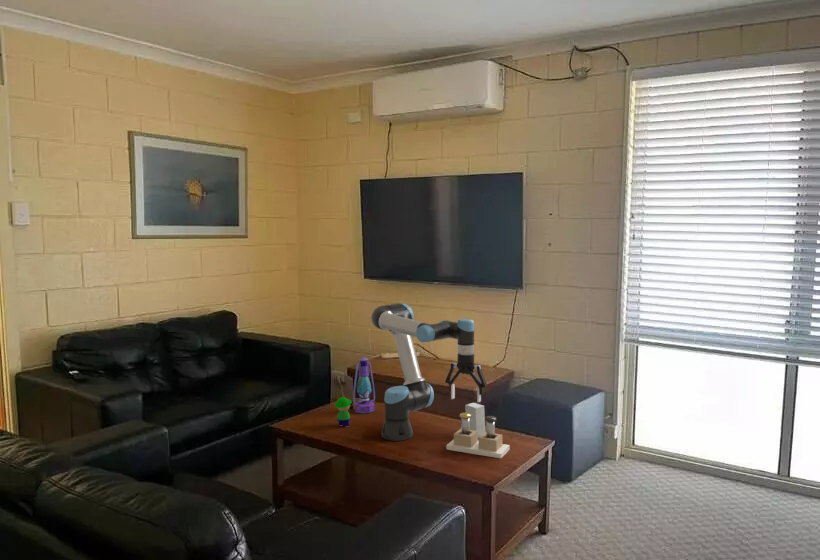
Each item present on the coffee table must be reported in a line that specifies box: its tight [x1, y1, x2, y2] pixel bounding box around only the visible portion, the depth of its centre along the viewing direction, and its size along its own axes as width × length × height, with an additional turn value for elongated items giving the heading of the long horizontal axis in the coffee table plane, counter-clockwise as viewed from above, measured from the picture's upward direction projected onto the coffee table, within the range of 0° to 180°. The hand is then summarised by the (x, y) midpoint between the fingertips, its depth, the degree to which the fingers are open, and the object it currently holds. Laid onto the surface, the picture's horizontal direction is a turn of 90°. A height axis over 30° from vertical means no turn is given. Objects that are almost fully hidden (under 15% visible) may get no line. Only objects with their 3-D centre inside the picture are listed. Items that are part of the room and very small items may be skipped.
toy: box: [333, 396, 354, 427], centre depth 318 cm, size 9×9×15 cm
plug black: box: [485, 415, 497, 439], centre depth 280 cm, size 5×5×9 cm
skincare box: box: [464, 402, 486, 439], centre depth 302 cm, size 8×6×15 cm
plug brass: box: [459, 412, 471, 435], centre depth 285 cm, size 5×5×9 cm
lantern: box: [352, 356, 376, 414], centre depth 342 cm, size 13×12×30 cm
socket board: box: [445, 428, 511, 459], centre depth 283 cm, size 26×12×7 cm, turn 64°
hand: (465, 400), depth 284 cm, fingers open, 12 cm apart
